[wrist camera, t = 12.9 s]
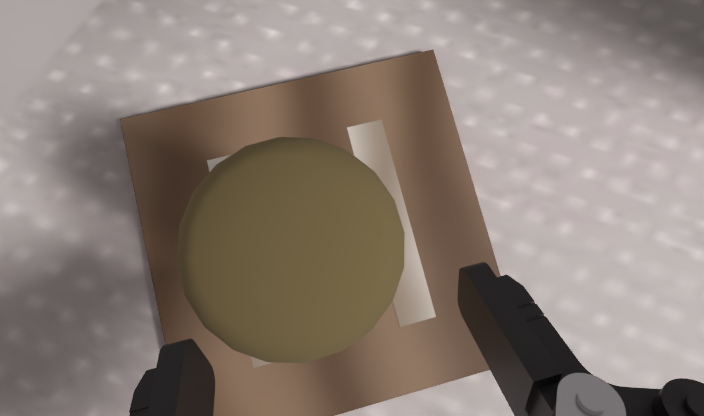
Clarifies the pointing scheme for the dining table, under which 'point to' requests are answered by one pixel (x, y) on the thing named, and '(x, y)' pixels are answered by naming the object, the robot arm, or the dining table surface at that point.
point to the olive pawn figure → (290, 250)
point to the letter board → (400, 180)
